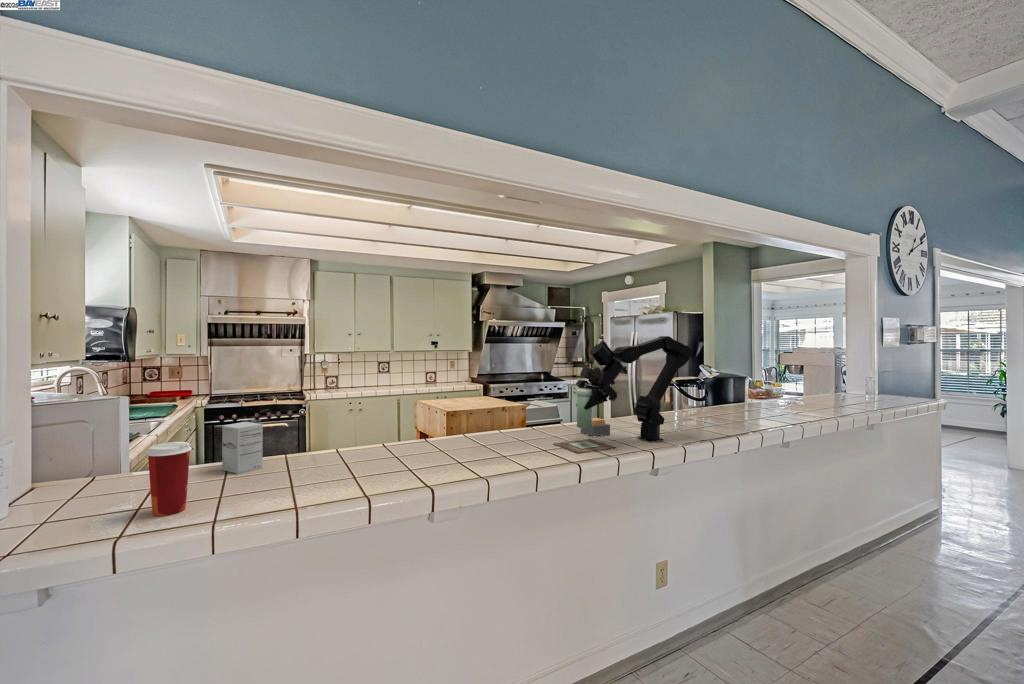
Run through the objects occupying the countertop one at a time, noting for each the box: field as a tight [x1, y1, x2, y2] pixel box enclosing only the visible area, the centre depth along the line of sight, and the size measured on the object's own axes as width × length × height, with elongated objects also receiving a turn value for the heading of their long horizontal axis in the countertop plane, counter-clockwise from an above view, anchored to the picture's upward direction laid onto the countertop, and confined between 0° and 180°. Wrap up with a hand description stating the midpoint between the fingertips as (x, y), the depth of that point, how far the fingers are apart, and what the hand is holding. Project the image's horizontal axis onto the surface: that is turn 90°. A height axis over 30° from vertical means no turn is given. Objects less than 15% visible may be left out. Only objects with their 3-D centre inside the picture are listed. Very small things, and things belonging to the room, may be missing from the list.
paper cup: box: [145, 441, 193, 517], centre depth 95 cm, size 8×8×14 cm
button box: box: [580, 423, 611, 437], centre depth 174 cm, size 8×8×4 cm
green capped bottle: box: [576, 387, 593, 429], centre depth 154 cm, size 5×5×13 cm
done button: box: [592, 417, 606, 426], centre depth 174 cm, size 5×5×2 cm
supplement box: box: [221, 421, 264, 475], centre depth 125 cm, size 7×7×13 cm
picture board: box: [553, 438, 617, 454], centre depth 154 cm, size 16×14×1 cm
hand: (580, 407), depth 154 cm, fingers closed on green capped bottle, 5 cm apart
